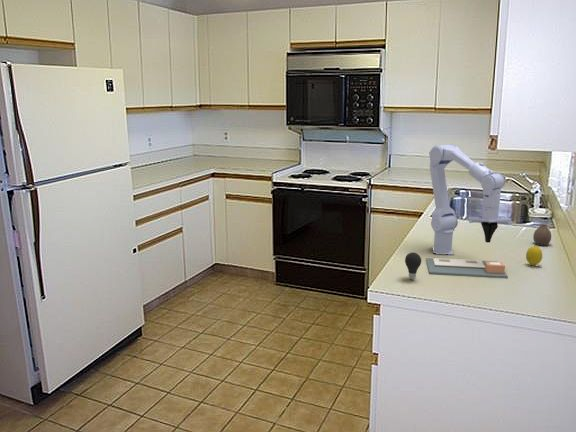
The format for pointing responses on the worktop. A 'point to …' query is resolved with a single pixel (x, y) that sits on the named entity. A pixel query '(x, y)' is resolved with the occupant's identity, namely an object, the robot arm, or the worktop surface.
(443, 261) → the ticket
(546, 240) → the brown pointed fruit
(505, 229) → the worktop surface
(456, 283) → the worktop surface
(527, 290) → the worktop surface
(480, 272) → the mat
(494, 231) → the robot arm
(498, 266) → the stub
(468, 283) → the worktop surface
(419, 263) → the light bulb
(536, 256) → the lemon
